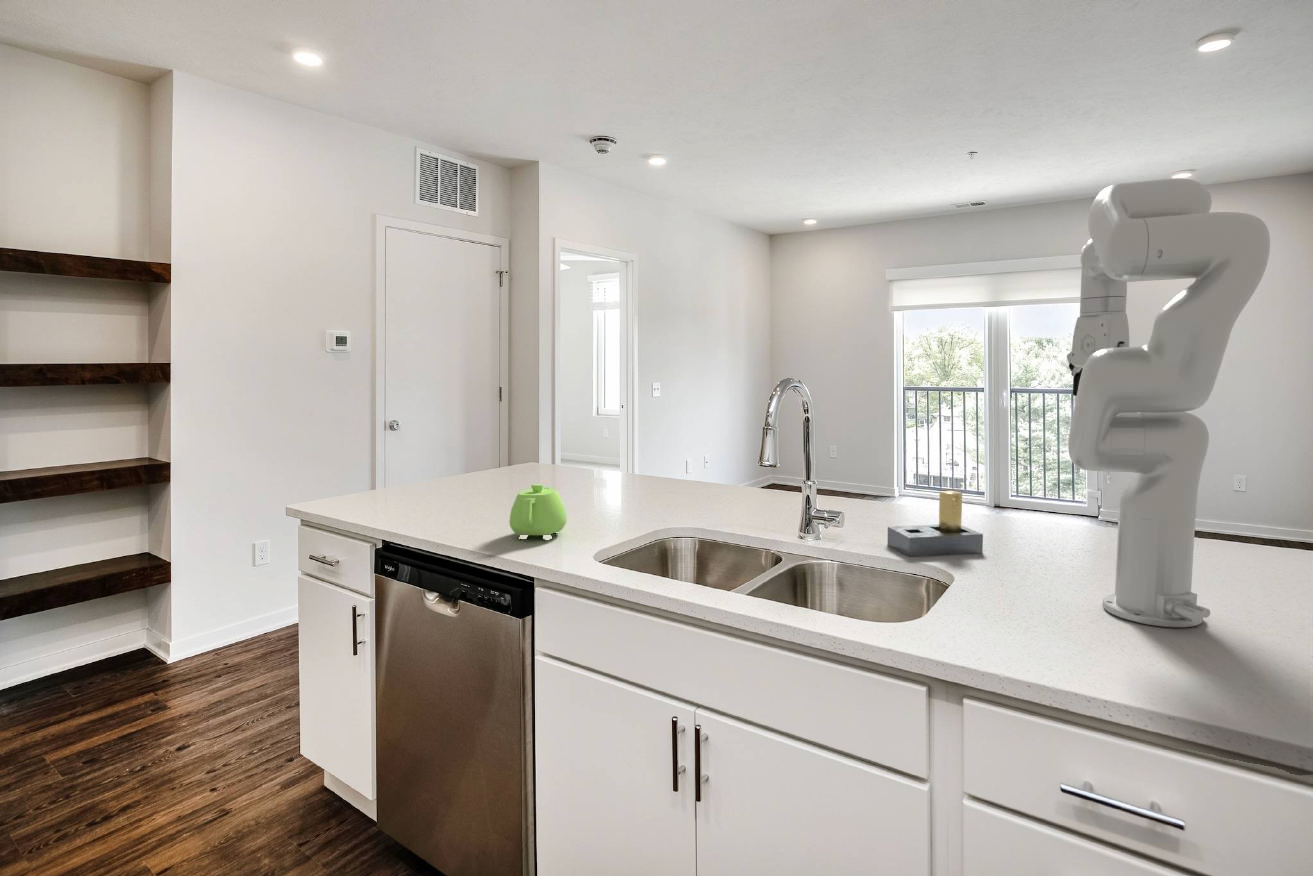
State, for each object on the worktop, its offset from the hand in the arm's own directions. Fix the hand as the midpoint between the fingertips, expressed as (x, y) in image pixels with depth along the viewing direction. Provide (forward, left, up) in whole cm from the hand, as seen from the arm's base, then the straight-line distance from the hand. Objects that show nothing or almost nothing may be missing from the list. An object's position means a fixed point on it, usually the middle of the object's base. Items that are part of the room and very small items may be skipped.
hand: (1098, 396), depth 134 cm
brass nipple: (+12, +24, -32) cm, 42 cm away
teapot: (+40, +112, -33) cm, 124 cm away
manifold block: (+12, +27, -32) cm, 44 cm away
